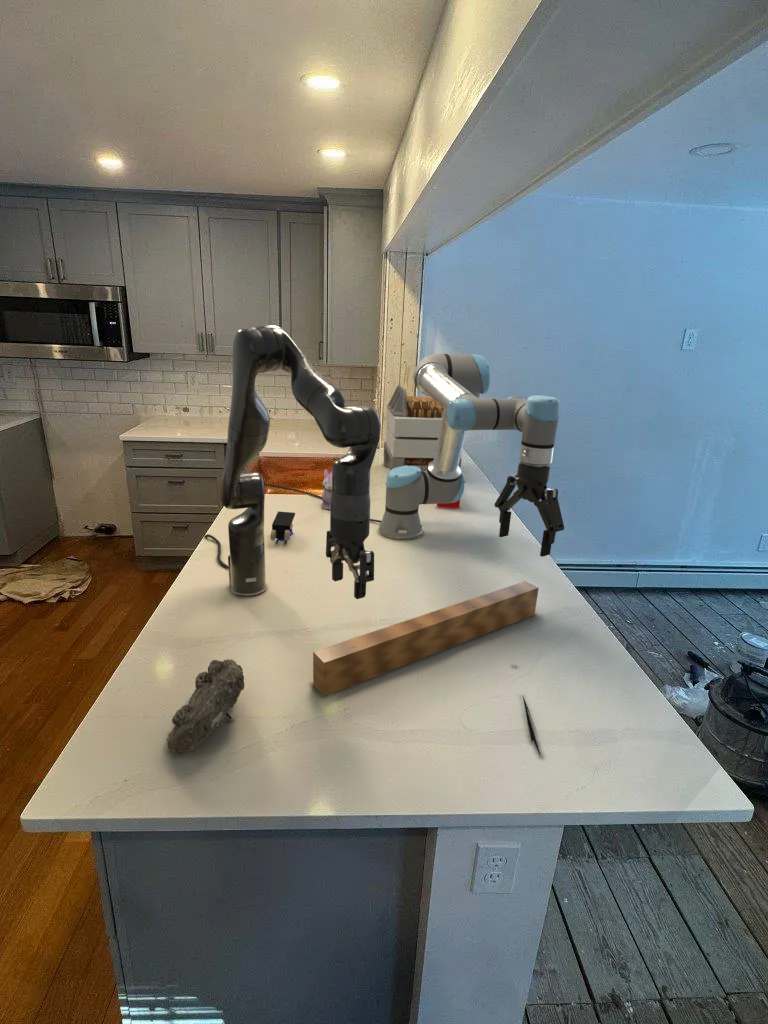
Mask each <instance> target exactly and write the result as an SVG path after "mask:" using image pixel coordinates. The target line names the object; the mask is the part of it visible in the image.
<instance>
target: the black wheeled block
mask: <svg viewBox="0 0 768 1024" xmlns="http://www.w3.org/2000/svg"><path fill="white" fill-rule="evenodd" d="M295 516H296V512H291V511H279V510H278V511H277V513H276V514H275V517H274V519H273V521H272V524H271V530H270V541H275V545H278V544H279V541H280V542H283V545H284V546H286V545H287V542H288V541H290V540H291V537H292V536H293V535H294V532H293V528H294V525H293V522H294V520H295V519H294V518H295Z"/></svg>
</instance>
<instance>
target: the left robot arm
mask: <svg viewBox="0 0 768 1024" xmlns="http://www.w3.org/2000/svg"><path fill="white" fill-rule="evenodd" d="M233 338H234V339H233V345H232V391H231V401H230V411H229V418H228V427H227V439H226V440H227V441H226V452H225V459H224V463H223V468H222V473H221V478H220V484H219V485H220V486H219V496H220V497H219V499H220V501H221V504H222V506H223V508H226V510H227V509H228V510H240V509H245V510H244V511H242V513H240V514H238V515H236V516H234V517H232V518H231V519H230V520H229V522H228V524H227V525H228V527H227V529H228V531H227V532H228V547H229V555H228V556H227V564H226V563H225V562H223V561H222V559H221V554H222V550H221V547H222V545H221V542H220V540H218V539H217V537H215V536H213V535H211V534H205V535H204V536H203V538H204V537H205V538H204V539H207V538H210V539H212V540H213V541H214V542H215V543H216V544H217V556H216V559H217V562H218V563H219V564H220V565H221V566H222V567H224V568H225V569H227V570H228V583H229V588H230V589H231V592H232V593H233V594H235V595H237V596H241V597H253V596H258V595H260V594H262V593H264V592H265V591H266V589H267V582H266V581H267V580H266V579H267V578H266V553H265V552H266V550H265V549H266V548H265V547H266V545H265V504H266V503H265V499H266V487H265V485H264V483H265V482H264V478H263V475H262V474H261V473H260V472H259V471H245V469H246V468H247V467H248V466H249V465H250V464H251V462H252V461H254V460H255V459H256V458H257V456H259V454H260V453H261V452H262V451H263V449H264V448H265V446H266V445H267V442H268V437H269V431H270V426H271V417H270V413H269V411H268V409H267V407H266V405H265V403H263V401H262V400H261V398H260V397H259V395H258V393H257V392H256V379H257V376H258V374H263V373H267V372H268V373H269V372H276V371H279V370H282V371H285V372H286V373H288V374H289V375H290V389H291V393H292V395H293V397H294V399H295V401H296V402H297V403H298V404H299V405H300V406H301V408H303V409H304V410H305V411H306V412H307V413H308V414H309V415H311V416H312V417H313V418H314V420H315V423H316V424H317V426H318V428H319V430H320V432H321V434H322V436H323V438H324V440H325V441H326V442H327V443H328V444H330V445H331V446H333V447H335V448H341V449H345V448H346V449H347V448H349V449H348V451H347V453H346V454H344V455H343V456H340V457H339V458H337V459H335V460H334V461H333V463H332V469H331V471H332V495H331V505H330V509H329V511H330V513H329V515H330V516H329V517H330V519H329V530H327V531H326V538H325V539H326V541H325V556H326V558H327V559H328V558H329V562H330V564H331V579H332V581H333V582H340V581H342V580H343V578H344V562H345V563H346V565H347V567H348V570H349V571H350V572H351V573H352V575H353V578H354V583H353V597H354V599H356V600H360V599H363V598H365V597H366V595H367V583H369V582H374V581H375V552H374V550H369V551H368V550H366V549H365V543H364V542H365V540H366V539H367V538H368V537H369V535H370V527H371V525H370V523H371V521H370V519H371V494H370V490H371V489H370V487H371V469H372V465H373V463H374V459H375V457H376V452H377V449H378V446H379V442H380V439H381V433H382V424H381V423H382V422H381V419H380V415H379V413H378V412H377V411H376V410H375V409H374V408H373V407H372V406H369V405H355V406H346V405H347V404H346V397H345V396H344V394H343V393H342V391H341V390H340V389H339V388H338V387H337V386H335V385H334V384H333V383H332V382H330V380H329V379H328V378H326V377H325V376H324V375H323V374H321V373H320V372H319V371H318V370H317V369H316V368H315V367H314V366H313V364H312V363H311V362H310V361H309V359H308V358H307V356H306V355H305V354H304V352H303V351H302V350H301V349H300V347H299V346H298V344H296V342H295V341H294V339H292V337H291V336H290V335H289V333H288V332H286V330H285V329H283V327H281V326H278V325H275V324H274V325H273V324H270V325H269V324H268V325H267V324H266V325H259V326H250V327H249V326H248V327H243V328H240V329H238V331H236V333H235V336H234V337H233ZM244 471H245V472H244ZM332 548H333V550H332ZM358 563H359V564H358Z"/></svg>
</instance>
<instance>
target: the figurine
mask: <svg viewBox="0 0 768 1024" xmlns="http://www.w3.org/2000/svg"><path fill="white" fill-rule="evenodd" d="M323 474H324V475H323V476H324V479H323V481H322V483H321V484H322V485H321V486H322V488H323V491H322V493H321V497H322V503H321V507H322V509H325V510H330V505H331V495H332V470H331V471H330V472H329V470H328V469H326V468H325V469H324V472H323Z"/></svg>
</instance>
